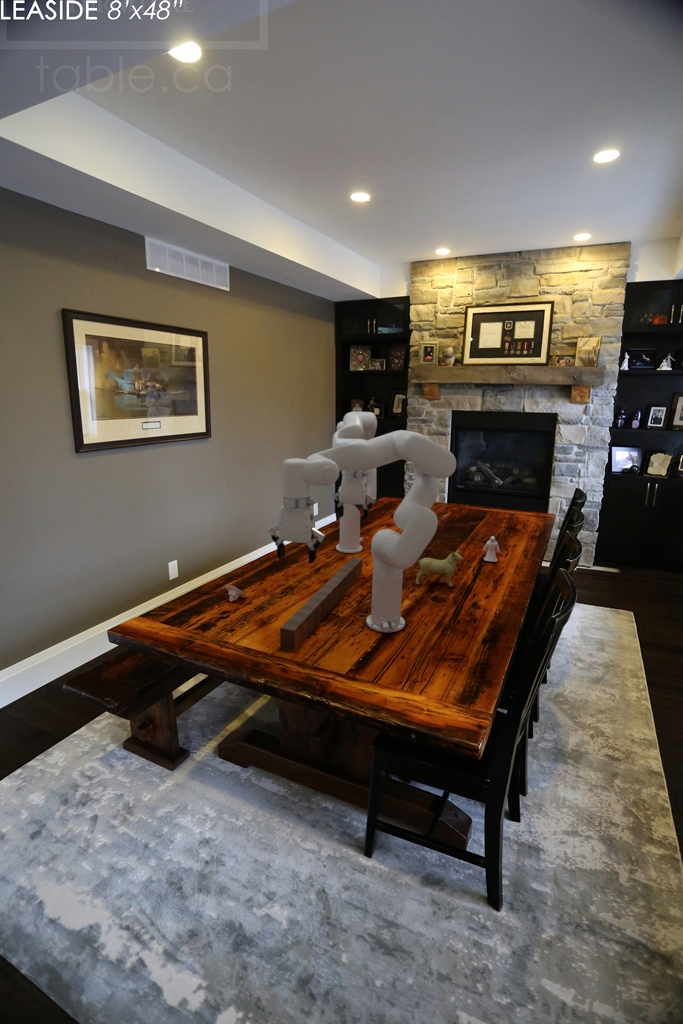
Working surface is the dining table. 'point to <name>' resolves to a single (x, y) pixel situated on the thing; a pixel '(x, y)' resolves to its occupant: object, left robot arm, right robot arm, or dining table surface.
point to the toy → (439, 567)
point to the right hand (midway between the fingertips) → (296, 559)
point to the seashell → (234, 592)
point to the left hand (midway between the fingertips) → (353, 517)
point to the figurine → (491, 550)
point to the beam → (319, 606)
